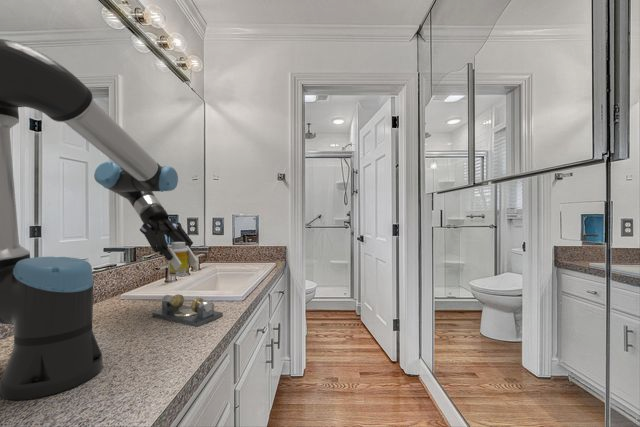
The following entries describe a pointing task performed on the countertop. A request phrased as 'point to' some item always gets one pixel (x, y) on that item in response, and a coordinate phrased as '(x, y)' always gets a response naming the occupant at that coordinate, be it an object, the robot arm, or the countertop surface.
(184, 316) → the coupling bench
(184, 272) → the supplement bottle
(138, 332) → the countertop surface
